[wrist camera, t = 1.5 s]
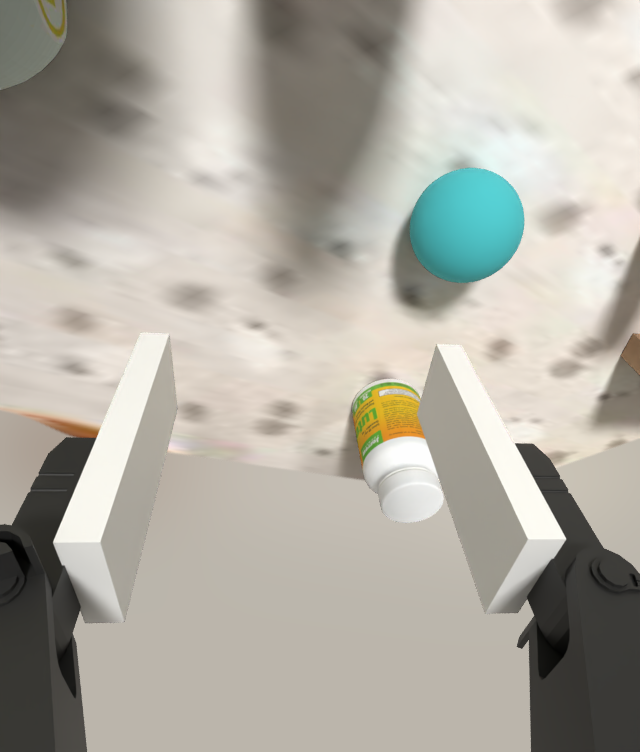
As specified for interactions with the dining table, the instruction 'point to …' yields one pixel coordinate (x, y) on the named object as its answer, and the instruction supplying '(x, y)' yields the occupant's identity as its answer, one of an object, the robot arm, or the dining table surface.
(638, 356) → the walnut backstop
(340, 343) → the dining table surface
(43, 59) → the air freshener
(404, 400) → the supplement bottle
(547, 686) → the robot arm
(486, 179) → the ball
